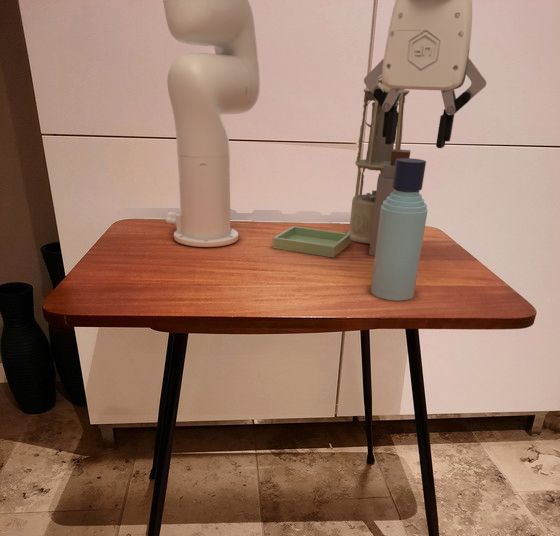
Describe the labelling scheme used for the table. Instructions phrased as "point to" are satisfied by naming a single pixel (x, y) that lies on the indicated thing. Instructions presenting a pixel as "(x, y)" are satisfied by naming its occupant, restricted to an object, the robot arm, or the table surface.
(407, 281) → the bottle
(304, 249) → the tray
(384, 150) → the lamp
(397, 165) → the cap
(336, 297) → the table surface
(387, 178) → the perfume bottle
